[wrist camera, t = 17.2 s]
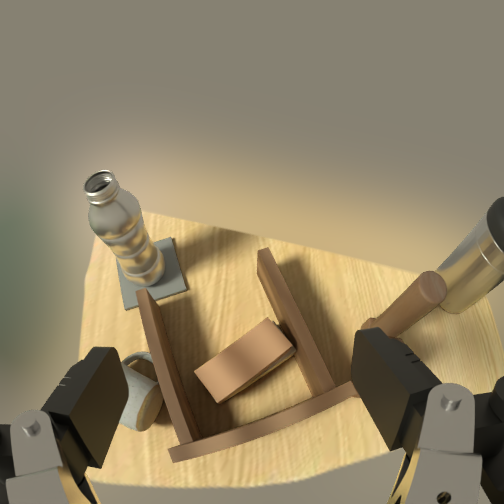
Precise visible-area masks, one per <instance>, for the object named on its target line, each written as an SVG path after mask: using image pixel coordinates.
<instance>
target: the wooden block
mask: <svg viewBox="0 0 504 504" xmlns="http://www.w3.org/2000/svg"><path fill="white" fill-rule="evenodd" d="M446 295H447V286H446V283H445V281H444V279H443V278H442V277H441V276H440V275H439V274H438V273H436V272H434V271H426V272H423V273H422V274H421V275H420V276H419V277H418V278H417V279H416V280H415V281H414V282H413V283H412V284H411V285H410V286H409V287H408V288H407V289H406V290H405V291H404V292H403V293H402V294H401V295H400V296H399V297H398V298H397V299H396V300H395V301H394V302H393V303H392V304H391V305H390V306H389V307H388V308H387V309H386V310H385V311H384V312H383V313H382V314H381V315H380V316H379V317H378V318H377V319H375V318H369V319H368V320H367V321H366V322H365V323H364V324H363V325H362V327H361V330H362V329H368V328H374V327H379V328H381V330H382V331H383V332H384V333H385V334H386V335H387V336H388V337H389V338H390V339H392V338H394V339H396V340H398V341H400V342H402V343H404V342H403V341H402V339H400V338H395V337H397V336H398V335H399V334H401V333H402V332H404V331H405V330H406V329H408V328H409V327H411V326H412V325H413V324H415V323H416V322H417V321H419V320H420V319H421V318H423V317H424V316H425V315H427V314H428V313H429V312H431V311H432V310H433V309H434V308H436V307H437V306H438V305H439V304H441V303H442V302H443V301H444V300H445V298H446ZM353 386H354V384H353ZM354 388H355V386H354ZM355 390H356V388H355ZM356 392H357V390H356ZM352 397H358V398H361V397H360V395H359V394H358V392H357V394H355V395H353V396H352Z"/></svg>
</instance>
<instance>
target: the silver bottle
mask: <svg viewBox="0 0 504 504" xmlns="http://www.w3.org/2000/svg"><path fill="white" fill-rule="evenodd" d="M83 189H84V192H85V194H86V196H87V200H88V202H89V203H90V208H89V213H88V219H89V223H90V227H91V229H92V230H93V231H94V233H95V234H96V235H97V236H98V237H99V238H100V239H101V240H102V241H103V242H104V243H105V244H106V245H107V246H108V247H109V248H110V249H111V251H112V252H113V253H114V254H115V256H116V258H117V260H118V261H119V263H120V266H121V269H122V272H123V274H124V276H125V277H126V278H127V280H129V281H130V282H131V283H133V284H134V285H136V286H140V287H146V286H150V285H153V284H155V283H156V282H158V281H159V280H160V279H161V277H162V276H163V274H164V272H165V260H164V256H163V254H162V253H161V251H160V250H159V249H158V247H157V246H156V245H154V243H153V242H152V240H151V238H150V237H149V235H148V233H147V230H146V228H145V225H144V221H143V217H142V213H141V208H140V205H139V203H138V200H137V199H136V197H135V196H134V195H132V194H131V193H130V192H128V191H126V190H124V189H121V188H120V186H119V183H118V181H117V180H116V179H115V176H114V174H113V173H112V172H111V171H109V170H101V171H98V172H96V173H94V174H92V175H91V176H90V177H88V178H87V180H86V181H85V183H84V185H83Z"/></svg>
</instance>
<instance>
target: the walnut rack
mask: <svg viewBox="0 0 504 504" xmlns="http://www.w3.org/2000/svg"><path fill="white" fill-rule="evenodd" d="M257 275H258V277H259V279H260V282H261V284H262V286H263V288H264V290H265V293H266V295H267V297H268V299H269V301H270V304H271V306H272V308H273V310H274V313H275V315H276V317H277V319H278V321H279V324H280V326H281V328H282V330H283V332H284V335H285V336H286V337H287V339H288V340H289V341H290V343H291V344H292V345H293V346H294V348H295V349H296V350H297V351H296V352H295V354H294V357H295V359H296V361H297V363H298V365H299V367H300V370H301V372H302V374H303V376H304V378H305V381H306V383H307V385H308V387H309V389H310V392H311V394H312V396H313V397H312V398H310V399H307V400H305V401H303V402H301V403H298V404H296V405H294V406H291V407H289V408H287V409H284V410H282V411H279V412H277V413H274V414H272V415H269V416H267V417H264V418H261V419H259V420H256V421H253V422H250V423H248V424H245V425H242V426H239V427H236V428H233V429H230V430H227V431H224V432H221V433H217V434H214V435H211V436H207V437H204V438H202V436H201V434H200V431H199V429H198V426H197V424H196V421H195V418H194V416H193V413H192V410H191V408H190V405H189V402H188V399H187V396H186V394H185V391H184V388H183V385H182V382H181V379H180V376H179V373H178V370H177V367H176V363H175V360H174V357H173V354H172V351H171V347H170V344H169V341H168V337H167V334H166V330H165V327H164V323H163V319H162V316H161V312H160V308H159V306H158V304H157V303H156V302H155V300H154V299H153V297H152V296H151V294H150V293H149V292H148V290H147V289H146V288H143V289H140V290H137V291H135V292H136V297H137V301H138V306H139V310H140V314H141V319H142V323H143V327H144V331H145V335H146V339H147V343H148V347H149V350H150V354H151V358H152V361H153V365H154V368H155V371H156V375H157V378H158V381H159V385H160V388H161V391H162V394H163V397H164V400H165V403H166V406H167V409H168V412H169V415H170V418H171V421H172V423H173V426H174V429H175V432H176V434H177V437H178V440H179V442H180V445H178V446H175V447H172V448H169V449H168V451H169V454H170V457H171V459H172V462H173V463H175V462H180V461H184V460H188V459H192V458H196V457H200V456H203V455H207V454H210V453H214V452H217V451H221V450H224V449H227V448H230V447H233V446H236V445H239V444H242V443H245V442H248V441H251V440H254V439H257V438H259V437H262V436H265V435H268V434H270V433H273V432H275V431H278V430H280V429H283V428H285V427H288V426H290V425H293V424H295V423H297V422H300V421H302V420H304V419H306V418H309V417H311V416H313V415H315V414H317V413H319V412H322V411H324V410H326V409H328V408H330V407H332V406H334V405H336V404H338V403H340V402H342V401H344V400H346V399H348V398H350V397H352V396H353V395H355V394H357V392H356V390H355V388H354V386H353V384H352V382H351V381H348V382H346V383H344V384H342V385H339V386H337V387H336V386H335V384H334V382H333V380H332V378H331V375H330V373H329V371H328V369H327V367H326V365H325V363H324V361H323V359H322V356H321V354H320V352H319V350H318V348H317V346H316V344H315V342H314V340H313V338H312V336H311V333H310V331H309V329H308V327H307V325H306V323H305V321H304V319H303V317H302V315H301V313H300V311H299V309H298V307H297V305H296V303H295V300H294V298H293V296H292V294H291V292H290V290H289V288H288V286H287V284H286V282H285V280H284V278H283V276H282V274H281V272H280V270H279V268H278V266H277V264H276V262H275V260H274V258H273V256H272V254H271V252H270V250H269V248H268V247H267V248H264V249H261V250H258V258H257Z"/></svg>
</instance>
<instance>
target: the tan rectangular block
mask: <svg viewBox="0 0 504 504" xmlns="http://www.w3.org/2000/svg"><path fill="white" fill-rule="evenodd" d="M296 351H297V350H296V349H295V348H294V346H293V345H292V344H291V343H290V341H289V340H288V339H287V337H286V336H285V335H284V334H283V332H282V331H281V330H280V329H279V327H278V326H277V325H276V323H275V322H274V321H272V322H271V320H270V319H269V318H268V317H267V318H266V319H265V320H263V321H262V322H261V323H259V324H258V325H257V326H255V327H254V328H253V329H251V330H250V331H249V332H247V333H246V334H245V335H243V336H242V337H241V338H239V339H238V340H237V341H235V342H234V343H233V344H231V345H230V346H229V347H227V348H226V349H224V350H223V351H222V352H220V353H219V354H218V355H216V356H215V357H213V358H212V359H211V360H209V361H208V362H206V363H205V364H203V365H202V366H201V367H199V368H198V369H196V370H195V371H194V372H195V374H196V375H197V376H198V378H199V379H200V380H201V382H202V383H203V384H204V386H205V387H206V388H207V389H208V391H209V392H210V393H211V395H212V396H213V398H214V399H215V401H216V402H217V403H218V404H221V403H222V402H224V401H226V400H227V399H229V398H231V397H232V396H234V395H235V394H237V393H238V392H240V391H242V390H243V389H245V388H246V387H248V386H249V385H251V384H252V383H254V382H255V381H257V380H258V379H260V378H261V377H263V376H264V375H266V374H267V373H269V372H270V371H272V370H273V369H275V368H276V367H277V366H279V365H280V364H282V363H283V362H285V361H286V360H287V359H289V358H290V357H292V356H293V355H294V354H295V352H296Z"/></svg>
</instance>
